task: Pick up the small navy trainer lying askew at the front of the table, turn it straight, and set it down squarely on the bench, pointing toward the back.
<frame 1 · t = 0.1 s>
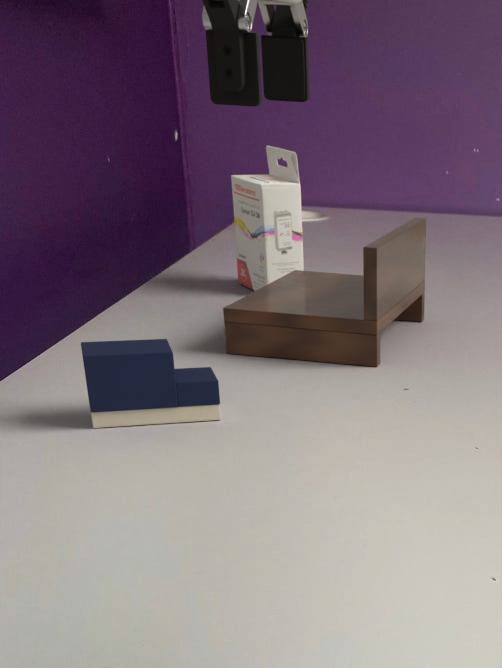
hand: (263, 102, 70), 21 cm above the table, tool pointing down, fingers open, 9 cm apart
ink cartridge box: (270, 290, 119), on the table
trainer: (156, 416, 77), on the table
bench: (332, 335, 101), on the table
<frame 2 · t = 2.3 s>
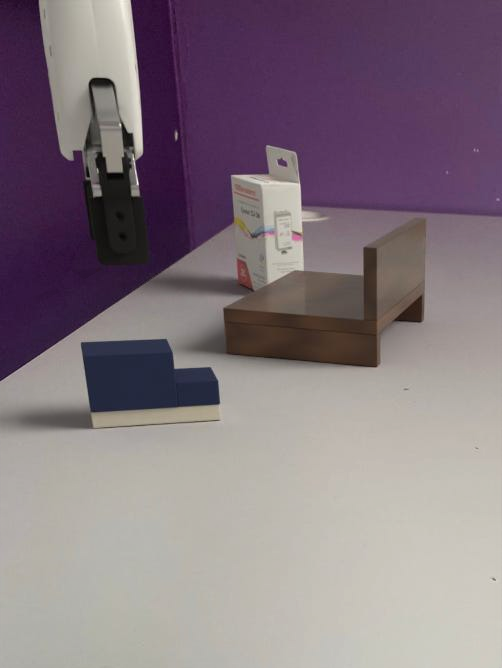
hand: (119, 251, 70), 12 cm above the table, tool pointing down, fingers open, 9 cm apart
nothing on the table moved.
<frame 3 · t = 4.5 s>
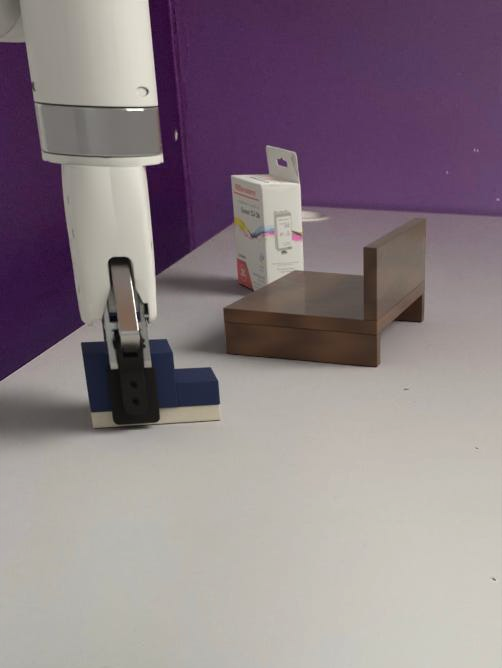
hand: (134, 410, 76), 1 cm above the table, tool pointing down, fingers closed on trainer, 4 cm apart
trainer: (156, 416, 77), on the table, touching gripper
everything else where it was.
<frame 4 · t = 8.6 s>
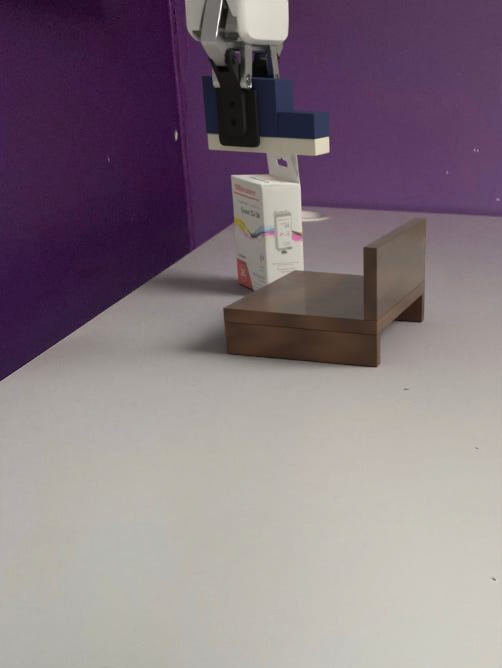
hand: (251, 141, 84), 18 cm above the table, tool pointing down, fingers closed on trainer, 4 cm apart
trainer: (269, 151, 84), point 17 cm above the table, touching gripper
everything else where it was.
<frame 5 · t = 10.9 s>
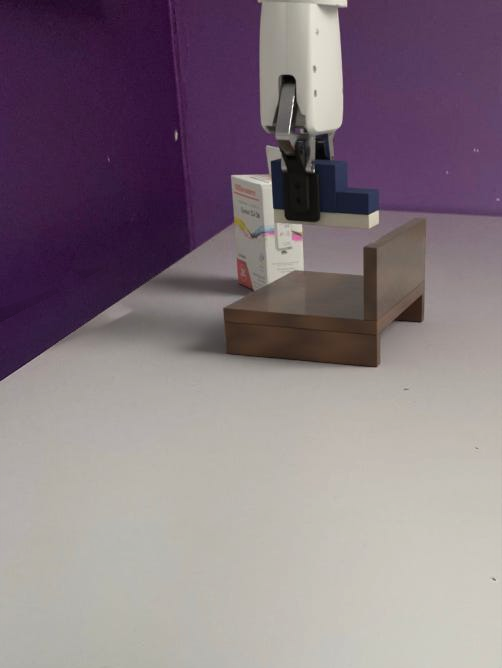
hand: (310, 215, 96), 11 cm above the table, tool pointing down, fingers closed on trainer, 4 cm apart
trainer: (327, 223, 96), point 10 cm above the table, touching gripper
everything else where it was.
when the fingers open (5 cm above the table, at t = 12.7 s): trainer stays where it is, resting on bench.
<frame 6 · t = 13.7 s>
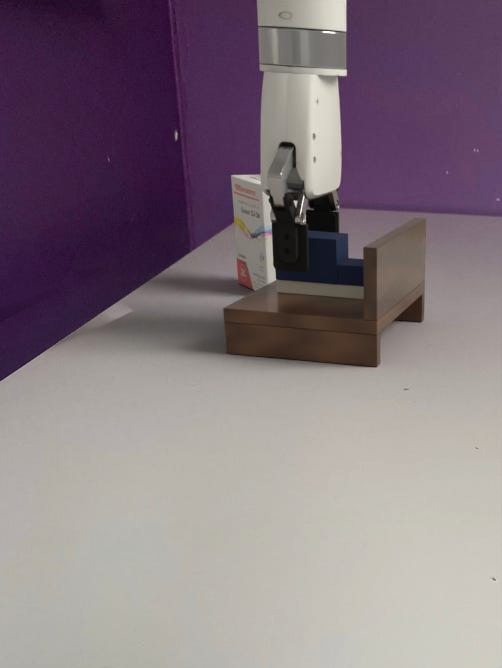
hand: (307, 261, 98), 7 cm above the table, tool pointing down, fingers open, 9 cm apart
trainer: (328, 292, 99), point 4 cm above the table, touching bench
everything else where it was.
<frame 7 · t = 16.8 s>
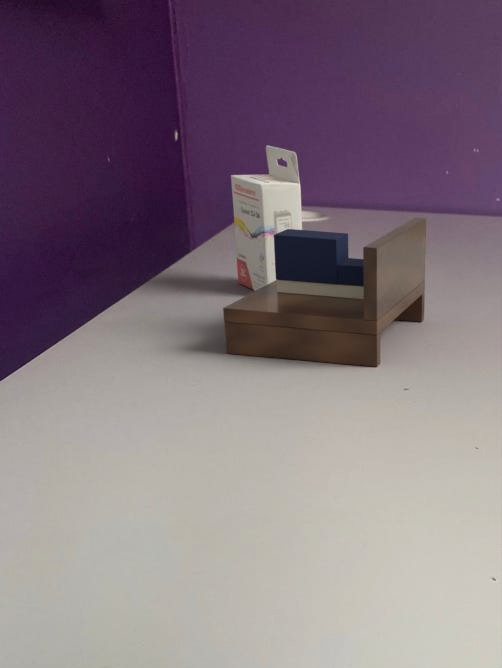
nothing on the table moved.
at the end: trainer inside the target area on the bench (0.4 cm from its centre), point 4.0 cm above the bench's base; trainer tilted 0°; the gripper is holding nothing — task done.
